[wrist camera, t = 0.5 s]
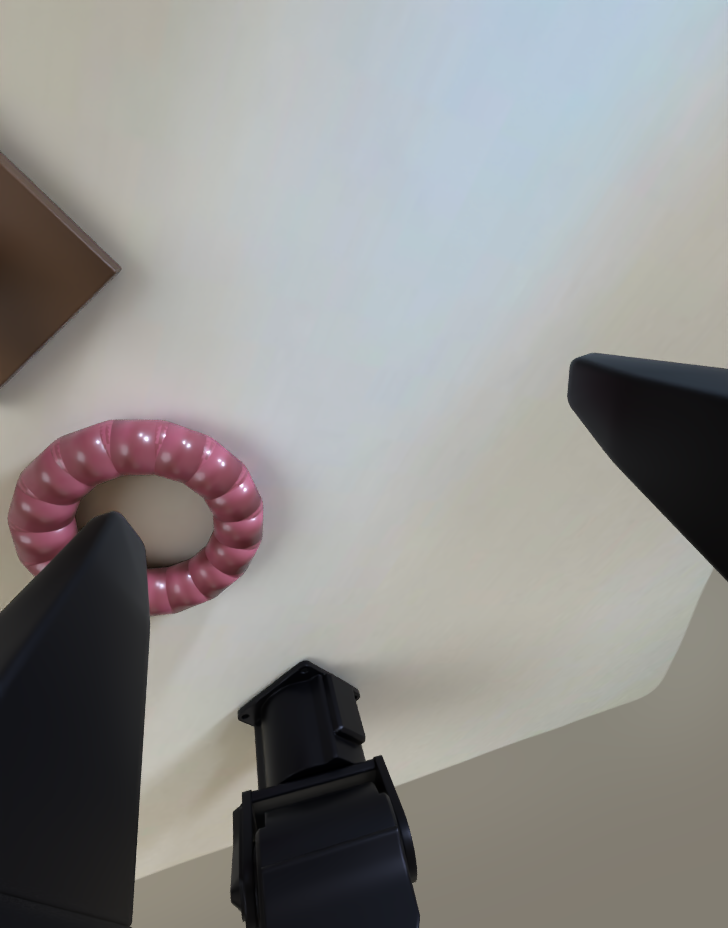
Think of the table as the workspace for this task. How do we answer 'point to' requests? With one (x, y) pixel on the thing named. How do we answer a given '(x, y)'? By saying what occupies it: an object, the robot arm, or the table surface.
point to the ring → (142, 453)
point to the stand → (40, 269)
